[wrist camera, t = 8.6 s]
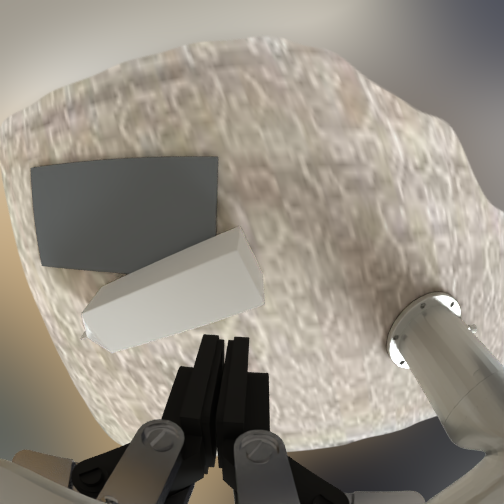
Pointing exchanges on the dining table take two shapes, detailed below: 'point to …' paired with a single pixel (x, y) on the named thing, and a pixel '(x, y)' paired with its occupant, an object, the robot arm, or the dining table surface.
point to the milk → (177, 294)
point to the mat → (123, 211)
